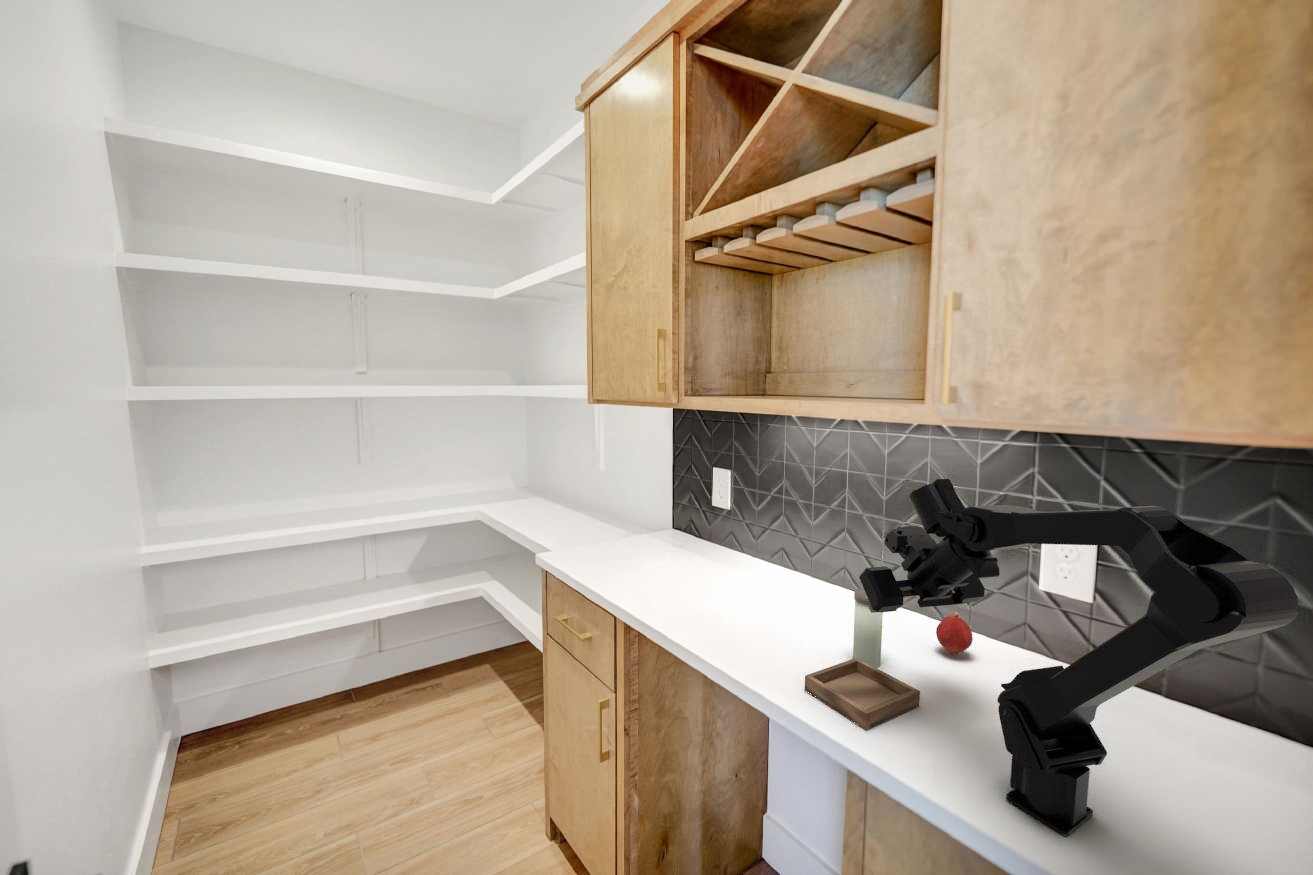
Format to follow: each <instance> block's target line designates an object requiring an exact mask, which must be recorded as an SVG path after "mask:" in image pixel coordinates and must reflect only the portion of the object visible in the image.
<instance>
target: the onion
mask: <svg viewBox="0 0 1313 875" xmlns="http://www.w3.org/2000/svg"><path fill="white" fill-rule="evenodd" d="M935 631H936V638H937V640H938V642H939V644H940V645H941V646H942V647H943V648H944V649H945V651H947V652H948V653H949V654H950V655H953V656H957V655H959V654H960V653H963V652H964V651H966V650H967V649H969V648H970V647H971V645H972V643H973V640H974V639H973V632H972V630H971V627H970V626H969V624H967V622H966V621H965V620H964V619H962V618H961V617H960V613H958V612H954V613H952V614H951V615H947V616H946V617H945V618H943V619H942V620H941V621H940V622H939V624H938V625H937V626H936V630H935Z"/></svg>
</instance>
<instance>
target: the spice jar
mask: <svg viewBox="0 0 1313 875" xmlns="http://www.w3.org/2000/svg"><path fill="white" fill-rule="evenodd" d="M853 599H854V621H853V622H854V623H853V642H852V643H853V645H852V646H853V648H852V659H854V658H858V659H860V660H862V661H864V662H866V663H868V664H870V665H871V666H873V667H875V668H878V667H880V666H881V662H882V661H881V660H882V658H881V657H882V635H883V634H882V633H883V618H884V617H883V614H884V612H875V613H871V612H870V609H869V600H868V597H867V595H866V593H865V590H864V588H863V587H862V588H856V589H855V590H854V598H853Z"/></svg>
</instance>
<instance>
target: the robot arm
mask: <svg viewBox="0 0 1313 875" xmlns="http://www.w3.org/2000/svg"><path fill="white" fill-rule="evenodd" d="M908 499H909V502H910V504H911V505H912V507H913V509H914V512H915V513H916V515H917V518H918V519H919V520H920V523H921V525H922V527H921V526H918V525H910V526H898V527H896V528H892V529H891V531H889V532H887V533H886V536H885V538H884V540H883V542H884V545H885V547H887V549H888V550H889V551H890V552H891V553H892V554H899V555H900V557H901V558H902V559H903V561H902V562H901V566H902V569H903V570H904V572H906V571H907V574H906V576H907V579H906V580H905V579H904V580H897V579H896V576H895V575H894V573H893V570H892V569H891V568H890V567H887V565H886V566H885V565H884V566H874V567H873V566H872V567H865V569H864V570H863V571H862V572H860V574H859V577H858V578H859V580H860V583H861V585H862V588H864V590H865V593H866V595H867V597H868V600H869V609H870V612H871V613H875V612H883V613H887V612H889V613H890V612H896V611H898V609H901V608H902V607H903V605H904V598H914V597H919V598H918V600H917V605H918V607H919V608H928V607H931V608H932V607H942V606H943V607H944V606H953V605H954V606H955V605H965V604H969V603H976V602H978V601H981V599H982V598H984V597H985V586H984V584H983V582H982V581H981V579H986V578H998V577H1000V574H1001V572H1000V567H999V565H998V564H999V563H998V558H997V557H995V556H993V554H992V552H991V551H1003V550H1004V551H1005V550H1014V549H1016V550H1018V549H1022V548H1027V547H1031V546H1032V547H1033V546H1036V545H1068V546H1069V545H1070V546H1105V547H1106V546H1112V547H1119V549H1122V550H1123V551H1124V552H1125V553H1126V554H1127V555H1128V557H1129V559H1130V560H1131V563H1132V564H1133V566H1134V568H1135V570H1136V572H1137V574H1138V576H1139V578H1140V579H1141V581H1142V582H1144V584H1145V585H1147V586H1148V587H1149V588H1150V589H1151V590H1152V591H1153V593H1152V594H1151V595H1150V598H1149V601H1148V605H1147V610H1146V612H1145V613H1144V614H1143V615H1142V617H1140V618H1139V619H1137V620H1136V621H1135V622H1133V623H1131V624H1129V625H1128V626H1127V627H1124V629H1122V630H1121V631H1119V632H1118V633H1116V634H1115V635H1113V636H1111V637H1110V638H1109V639H1107V640H1105V641H1104V642H1103V643H1101V644H1099V645H1098V646H1097V647H1094V649H1092V650H1091V651H1089V652H1088V653H1086V654H1084V655H1083V656H1081V657H1080V658H1079V659H1077V660H1076V661H1074V662H1072V663H1071V664H1069V665H1068V666H1066V667H1064V666H1063V665H1055V666H1049V667H1048V666H1047V667H1042V668H1040V667H1039V668H1035V669H1028V670H1026V669H1025V670H1022V671H1020V672H1019V673H1018V674H1016V675H1015V677H1014V678H1013V679H1012V680H1011V681H1010V682H1005V683H1001V684H1000V687H1001V688H1003V690H1002V691H1001V692H1000V694H999V695H998V696H997V703H998V708H997V709H998V717H999V721H1000V726H1001V730H1002V735H1003V740H1004V744H1005V749H1006V751H1007V753H1009V754H1010V755H1012V756H1011V762H1010V763H1011V765H1010V766H1011V767H1010V780H1009V785H1010V788H1011V789H1012V790H1010V791H1008V792H1007V793H1005V794H1006V797H1005V799H1006V801H1008V802H1009V803H1011V804H1012V805H1014V806H1015V807H1017V808H1019V809H1020V810H1022V811H1023V812H1025V813H1026V814H1028V815H1030V816H1032V817H1033V818H1035V819H1037V820H1038V821H1040V822H1041V823H1043V824H1045V825H1046V826H1048V827H1050V828H1051V829H1052V830H1054V831H1055V832H1058V833H1059V834H1061V835H1063V836H1069V835H1071V833H1073V832H1074V831H1075V830H1077V829H1078V828H1079V827H1080V826H1081V825H1083V824H1084V823H1086V821H1088V820H1089V819H1091V818H1092V817H1093V816H1094V810H1093V809H1092V808H1090V807H1089V806H1088V795H1089V786H1090V785H1089V782H1090V775H1091V774H1090V771H1091V768H1089V767H1088V766H1094V765H1095V766H1099V765H1101V764H1102V763H1103V761H1104V760H1105V759H1106V756H1107V755H1108V752H1107V750H1106V748H1105V746H1104V745H1103V743H1102V741H1101V740H1100V737H1099V736H1098V734H1097V733H1096V731H1095V729H1094V728H1093V726H1092V724H1091V723H1092V722H1093V721H1094V720H1095V719H1096V718H1095V717H1096V713H1097V710H1098V707H1099V706H1100V705H1102V704H1103V703H1106V702H1107V701H1109V700H1111V699H1113V698H1114V697H1116V696H1118V695H1120V694H1122V693H1123V692H1125V691H1127V690H1129V689H1131V688H1132V687H1134V686H1136V685H1138V684H1140V683H1141V682H1143V681H1145V680H1148V679H1149V678H1150V677H1152V676H1154V675H1155V674H1158V673H1159V672H1161V671H1163V670H1165V669H1166V668H1168V667H1170V666H1172V665H1173V664H1175V663H1177V662H1180V661H1181V660H1182V659H1184V658H1187V657H1188V656H1191V654H1194V653H1195V652H1197V651H1198V650H1202V649H1204V648H1207V647H1212V646H1215V645H1219V644H1224V643H1228V642H1232V641H1236V640H1241V639H1244V638H1247V637H1251V636H1255V635H1258V634H1261V633H1265V632H1268V631H1273V630H1275V629H1279V628H1282V627H1284V626H1287V625H1289V624H1290V623H1292V622H1293V621H1294V620H1295V619H1296V618H1297V617H1298V615H1299V613H1300V608H1299V604H1298V603H1299V600H1298V599H1299V598H1298V595H1297V593H1296V591H1295V588H1294V586H1293V585H1292V584H1291V582H1290V581H1289V580H1288V579H1287V577H1285V576H1284V575H1283V574H1281V573H1280V572H1279V571H1278V570H1276V569H1275V568H1273V567H1271V566H1268V565H1266V564H1264V563H1261V562H1256V561H1254V560H1253V559H1252V558H1251V557H1249V556H1248V555H1247V554H1245V553H1244V552H1242V551H1240V550H1239V549H1238V548H1237V547H1235V546H1233V545H1231V544H1229V543H1227V542H1225V541H1224V540H1221V539H1219V538H1217V537H1215V536H1214V535H1211V534H1209V533H1207V532H1206V531H1203V530H1201V529H1198V528H1197V527H1195V526H1193V525H1191V524H1189V523H1188V522H1186V521H1185V520H1184V519H1182V518H1181V517H1180V516H1179V515H1177V514H1176V513H1174V512H1173V511H1172V510H1169V509H1167V508H1165V507H1163V506H1158V505H1143V506H1141V505H1139V506H1124V507H1121V508H1120V507H1119V508H1117V509H1092V510H1088V509H1087V510H1068V511H1067V510H1063V511H1042V510H1036V509H1034V508H1031V507H1026V506H1019V505H1013V504H998V505H997V504H995V505H979V506H967V507H965V506H964V504H963V503H962V500H961V499H960V497H959V495H958V494H957V492H956V490H955V488H954V485H953V483H952V481H951V480H950V479H949V478H936V479H935V480H934V481H933V482H931V483H927V484H924V485H923V486H921V487H919V488H917V489H915V490H914V489H913V490H912V492H910V494H909V497H908ZM932 534H933V535H934V534H935V536H936V537H938V538H942V537H943V538H942V539H941V540H940V541H939V542H938V543H937V542H936V540H935V539H934V538H933V537H932V536H931V535H932Z"/></svg>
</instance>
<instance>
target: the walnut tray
mask: <svg viewBox="0 0 1313 875" xmlns="http://www.w3.org/2000/svg"><path fill="white" fill-rule="evenodd" d="M805 690H806V691H807V692H806V691H805ZM804 691H805V692H806V693H808V692H809V693H811V694H812V695H814V696H816V697H817V698H818V699H820V700H821V701H820V700H819V701H820V702H822V703H823V702H824V703H823V704H825V705H826V704H827V705H826V706H828V707H829V708H831V709H832V708H833V709H832V710H834V709H835V710H836V711H835V710H834V711H835V712H837V711H838V712H839V714H840V713H841V714H843V715H844V716H843V715H842V716H843V717H845V716H846V717H847V718H846V717H845V718H846V719H848V718H849V719H850V720H849V719H848V720H849V721H851V720H852V721H853V722H852V721H851V722H852V723H854V722H855V723H857V724H858V725H859V726H858V725H857V724H856V725H857V726H858V727H860V728H861V727H862V728H861V729H863V730H864V729H865V730H864V731H868V730H870V729H872V728H875V727H877V726H879V725H882V724H885V723H886V722H888V721H890V720H892V719H893V720H894V719H895V718H897V717H899V716H902V715H904V714H906V713H908V712H911V711H912V710H915V709H917V708H919V707H920V703H921V702H920V700H921V690H919V689H917V688H916V687H913V686H911V685H909V684H907V683H905V682H904V681H902V680H900V679H899V678H896V677H894V676H892V675H890V674H888V673H887V672H884V671H883V670H881V669H879V668H878V667H876V668H875V667H873V666H871V665H870V664H868V663H866V662H864V661H862V660H860V659H858V658H854V659H853V658H852V659H849V660H845V661H842V662H840V663H838V664H835V665H832V666H829V667H826V668H822V669H820V670H818V671H814V672H812V673H809V674H806V675H804ZM809 693H808V694H809ZM811 694H810V695H811ZM812 695H811V696H812ZM814 696H813V697H814ZM817 698H816V699H817ZM818 699H817V700H818ZM838 712H837V713H838ZM841 714H840V715H841ZM855 723H854V724H855Z"/></svg>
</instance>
